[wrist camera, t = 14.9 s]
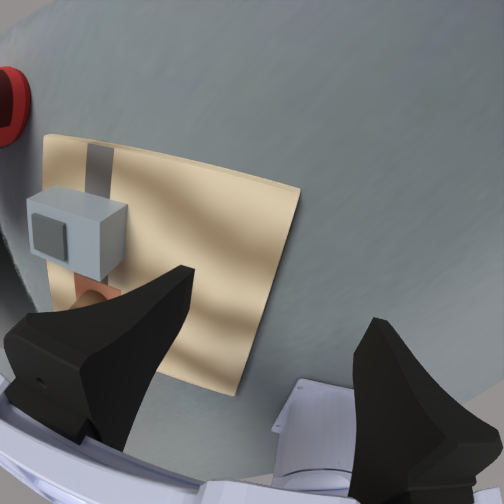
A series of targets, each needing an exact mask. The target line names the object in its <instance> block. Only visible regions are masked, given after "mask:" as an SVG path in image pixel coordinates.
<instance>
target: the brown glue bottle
mask: <svg viewBox="0 0 504 504" xmlns="http://www.w3.org/2000/svg"><path fill="white" fill-rule="evenodd" d="M106 300H107V299H106V298H105V297H104V296H103V295H102V294H101V293H99V292H98V291H95V290H87V291H85V292H84V293H83V294H82V296H81V297H80V298H79V299H78V300H77V301H76V302H75V303H74V304H73V305H72V306H71V307H70V308H69V309H68V310H70V309H75V308H80V307H85V306H88V305H92V304H96V303H100V302H103V301H106Z"/></svg>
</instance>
